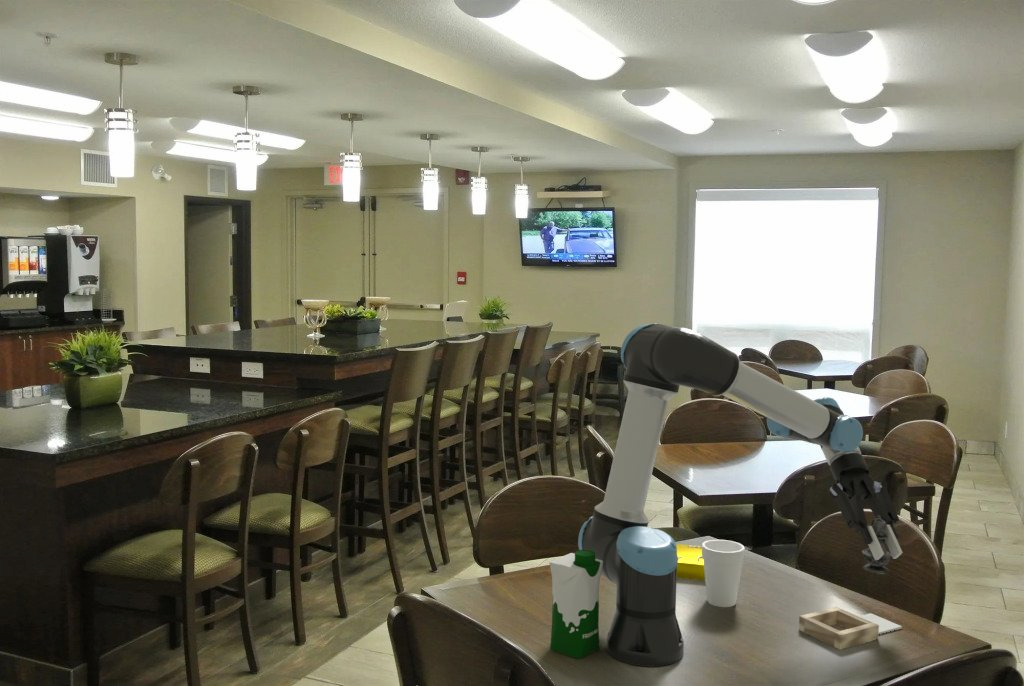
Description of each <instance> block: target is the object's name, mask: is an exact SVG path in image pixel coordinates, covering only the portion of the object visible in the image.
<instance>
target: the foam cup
mask: <svg viewBox="0 0 1024 686" xmlns="http://www.w3.org/2000/svg"><path fill="white" fill-rule="evenodd" d="M701 546H702V556H703V562H704V572H705V581H704V582H705V591H706V600H707V601H706V602H707V603H708V604H710V605H712V606H715V607H719V608H729V607H730V608H731V607H733V606H735V605H736V602H737V598H738V593H739V586H740V582H741V581H740V580H741V575H742V569H743V563H744V560H745V551H746V550H745V546H744V545H743V544H742V543H740V542H736V541H733V540H726V539H710V540H705V541H703V542H702V545H701Z"/></svg>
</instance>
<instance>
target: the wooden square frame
mask: <svg viewBox="0 0 1024 686" xmlns="http://www.w3.org/2000/svg"><path fill="white" fill-rule="evenodd" d="M859 616H860V615H856V614H854V613H852V612H849V611H847V610H845V609H843V608H841V607H838V606H835V607H831V608H827V609H822V610H818V611H814V612H810V613H806V614H801V615H799V617H798V631H800V632H803V633H804V634H806V635H809V636H811V637H813V638H814V639H815V638H816V639H817V640H819V641H821V642H824V643H825V644H827V645H830V646H832V647H834V648H836V649H838V650H839V651H842V650H845V649H848V648H851V647H855V645H856V646H858V644H859V645H862V643H863V644H866V642H867V643H870V642H873V640H874V641H877V640H879V635H878V632H879V625H877V624H875V623H873V622H870V621H868V620H866V619H863V618H861V617H859ZM834 625H838V626H840V627H842V628H844V629H841V630H838V629H837V628H834V627H832V626H834ZM876 639H877V640H876ZM844 648H845V649H844Z"/></svg>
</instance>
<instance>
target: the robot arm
mask: <svg viewBox="0 0 1024 686" xmlns="http://www.w3.org/2000/svg"><path fill="white" fill-rule="evenodd" d="M620 359H621V363H622V364H623V366H624V367H623V368H625V373H624V377H623V383H624V385H625V386H626V389H627V390H628V393H627V396H626V402H625V405H624V410H623V415H622V419H621V422H620V428H619V432H618V436H617V437H618V438H617V441H616V444H615V445H616V446H615V450H614V455H613V458H612V461H611V462H612V463H611V466H610V467H611V468H610V472H609V475H608V479H607V483H606V484H607V485H606V488H605V493H604V498H603V501H601V502H599V503H598V504H597V505H595V506H594V510H593V513H592V516H589V518H588V520H587V521H584V523H583V524H582V525H581V528H580V530H579V534H578V539H577V540H578V541H577V542H578V543H577V545H578V551H579V550H590V551H593V552H595V559H599V560H602V561H603V565H602V571H601V576H603V577H604V578H606V579H607V580H609V581H610V582H612V584H614V585H616V591H615V594H616V595H615V596H616V597H615V600H616V603H615V606H616V607H615V613H614V616H613V618H612V621H611V625H610V627H609V631H608V633H607V635H606V651H607V653H608V654H609V655H610V656H611V657H613V658H614V659H616V660H618V661H620V662H623V663H625V664H630V665H632V666H633V665H635V666H640V667H663V666H667V665H668V666H669V665H672V664H675V663H676V662H679V660H681V659H682V658H683V657H684V654H685V653H684V649H685V645H684V644H685V643H684V642H685V641H684V639H683V634H682V631H681V629H680V625H679V622H678V618H677V615H676V612H677V610H676V609H677V608H676V603H677V580H678V578H677V564H678V557H677V546H676V544H677V543H676V541H675V539H674V538H673V537H672V536H671V534H668V533H667V532H666V531H663V530H661V529H658V528H656V529H655V528H653V527H649V521H650V520H649V518H648V516H647V515H646V513H645V511H644V509H645V505H646V502H647V501H646V500H647V497H648V496H647V495H648V492H649V488H650V484H651V483H650V482H651V479H652V475H653V470H654V465H655V461H656V457H657V453H658V448H659V445H660V439H661V436H662V430H663V426H664V422H665V418H666V414H667V413H666V412H667V408H668V404H669V401H670V399H672V398H674V397H675V396H676V395H678V394H679V390H680V386H682V387H687V388H691V389H694V390H695V389H696V390H698V391H702V392H704V393H707V394H708V395H710V396H713V397H720V396H723V397H726V398H727V399H730V400H732V401H734V402H736V403H737V404H739V405H742V406H744V407H746V408H748V409H750V410H752V411H754V412H756V413H758V414H759V415H762V416H764V417H765V418H766V425H767V429H768V431H769V432H770V433H771V434H772V435H774V436H777V437H780V438H781V437H782V438H785V439H786V438H790V439H796V440H799V441H802V442H806V443H809V444H814V445H817V446H820V449H821V451H822V453H823V455H824V457H825V460H826V462H827V464H828V466H829V468H830V471H831V474H832V476H833V479H834V480H835V481H836V483H834V484H832V485H831V487H830V488H828V489H829V490H827V491H828V493H829V494H830V496H831V497H832V498H833V499H834V500H835V503H836V505H837V506H838V509H839V511H840V513H841V515H842V517H843V518H844V519H843V520H844V521H845V523H846V525H847V528H849V530H855V533H856V534H860V536H861V538H862V540H863V543H864V544H865V545H868V548H870V550H871V552H872V555H873V557H874V559H875V560H879V559H880V558H881V557H882V556H883V555H884V552H883V550H882V548H881V545H880V543H879V541H878V539H877V537H876V534H875V532H874V530H873V528H872V526H871V525H868V522H867V519H866V518H867V517H866V514H865V510H864V506H863V503H864V504H867V506H868V507H869V509H870V511H871V512H872V514H873V515H874V517H875V519H876V518H878V517H877V516H878V515H880V516H881V517H880V518H881V519H882V520H884V521H885V522H886V532H885V535H886V536H887V538H886V539H885V545H886V546H887V548H888V550H889V553H891V555H892V557H891V558H892V559H893V560H894V559H897V558H899V557H900V556H901V555H902V554H903V553H904V552H903V550H902V548H901V546H900V544H899V541H898V540H899V536H898V534H897V530H896V529H895V527H894V526H895V525H896V524H897V523H899V521H900V518H899V515H898V513H897V510H896V507H895V506H894V503H893V501H892V499H891V497H890V493H889V491H888V483H887V482H886V481H884V480H883V481H881V482H878V481H875V479H874V478H873V477H872V476H871V475H870V472H869V467H868V464H867V462H866V460H865V458H864V456H863V454H862V451H861V449H860V447H859V446H860V444H861V442H862V439H863V438H864V437H863V436H864V432H863V431H864V429H863V426H862V424H861V423H860V421H859V420H858V419H856V418H854V417H850V416H849V415H847V414H844V411H843V410H842V409H841V407H840V405H839V403H838V401H837V400H835V399H834V398H833V397H827V396H826V397H825V396H824V397H822V398H821V397H818V398H816V399H814V400H813V399H811V398H809V397H807V396H805V395H803V394H802V393H800V392H798V391H797V390H794V389H793V388H790V387H789V386H787V385H785V384H783V383H781V382H779V381H778V380H775V379H773V378H772V377H769V376H768V375H766V374H764V373H762V372H760V371H759V370H756V369H754V368H752V367H751V366H748V365H747V364H745V363H743V362H742V361H741V359H740V358H739V356H738V355H737V354H736V353H735V352H733V351H732V350H729V349H728V348H726V347H725V346H723V345H720V344H719V343H717V342H716V341H714V340H712V338H711V339H710V338H709V337H707V336H705V335H704V334H702V333H700V332H698V331H696V330H693V329H690V328H687V327H682V326H681V327H679V326H678V327H677V326H673V325H668V324H662V323H646V324H642V325H639V326H637V327H635V328H634V329H632V330H631V331H630V332H629V333H628V334H627V335H626V337H625V338H624V340H623V341H622V344H621V348H620ZM862 501H863V503H862Z"/></svg>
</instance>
